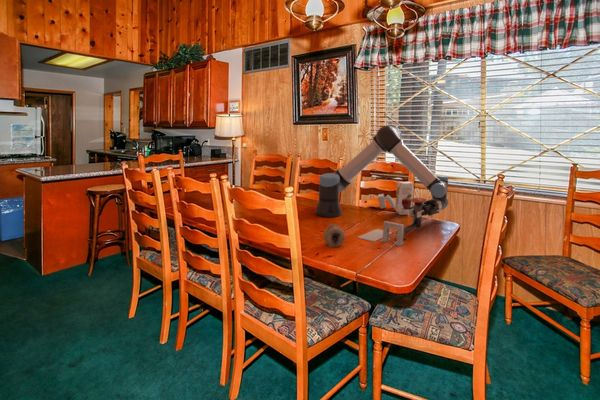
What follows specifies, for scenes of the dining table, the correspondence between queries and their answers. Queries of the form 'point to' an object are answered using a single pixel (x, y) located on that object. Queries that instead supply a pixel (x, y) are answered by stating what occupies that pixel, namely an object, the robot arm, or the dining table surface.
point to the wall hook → (382, 201)
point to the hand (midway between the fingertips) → (413, 214)
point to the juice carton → (404, 197)
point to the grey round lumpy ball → (334, 236)
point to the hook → (415, 214)
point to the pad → (373, 235)
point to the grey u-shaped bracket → (399, 232)
